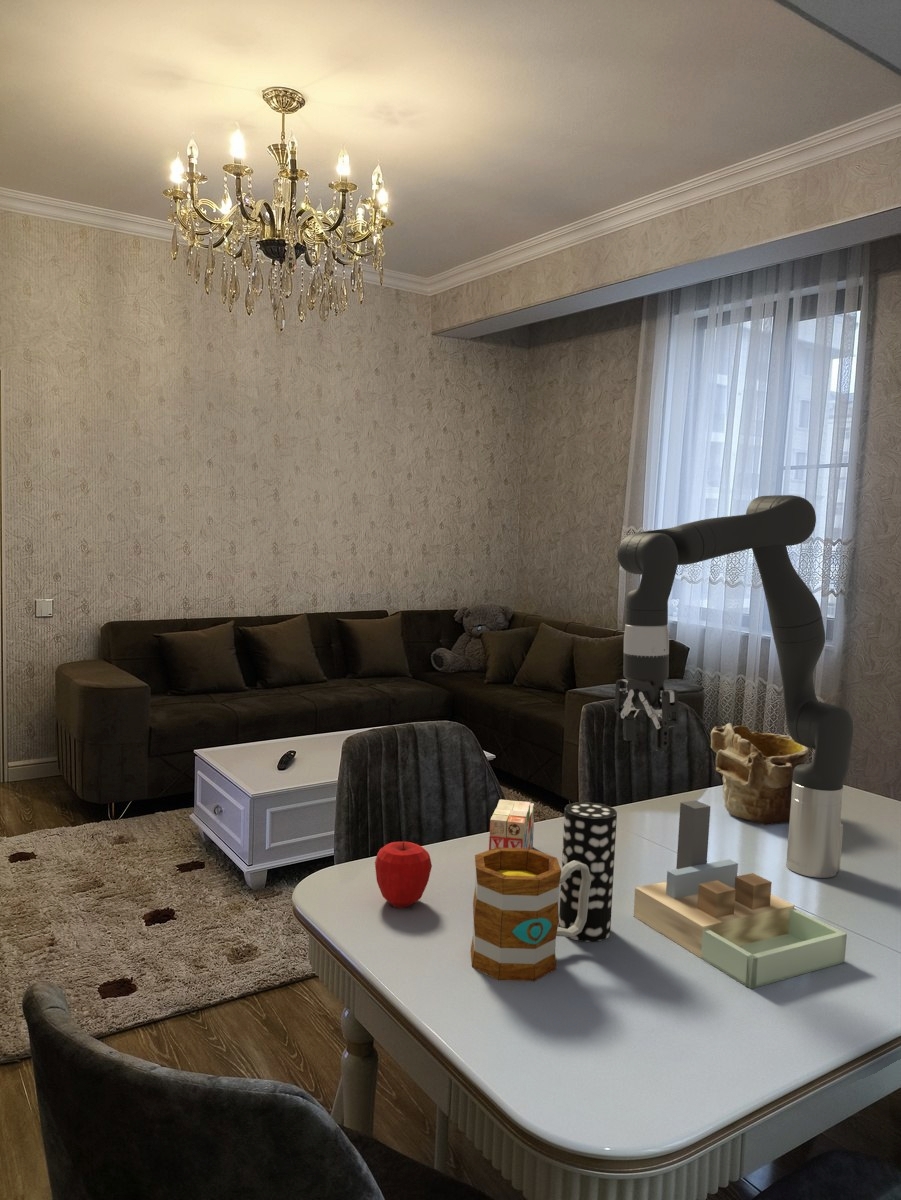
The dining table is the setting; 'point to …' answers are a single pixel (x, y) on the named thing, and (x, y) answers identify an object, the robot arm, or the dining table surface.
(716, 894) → the brown wooden cube
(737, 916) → the board
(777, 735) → the ceramic vessel
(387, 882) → the apple
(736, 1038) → the dining table surface
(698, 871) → the scraper
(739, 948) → the tray
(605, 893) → the spotted tube
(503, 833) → the stack of blocks
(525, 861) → the mug
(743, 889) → the brown wood cube
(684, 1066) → the dining table surface
